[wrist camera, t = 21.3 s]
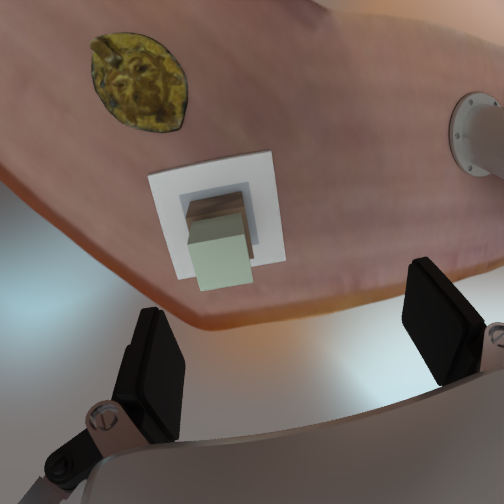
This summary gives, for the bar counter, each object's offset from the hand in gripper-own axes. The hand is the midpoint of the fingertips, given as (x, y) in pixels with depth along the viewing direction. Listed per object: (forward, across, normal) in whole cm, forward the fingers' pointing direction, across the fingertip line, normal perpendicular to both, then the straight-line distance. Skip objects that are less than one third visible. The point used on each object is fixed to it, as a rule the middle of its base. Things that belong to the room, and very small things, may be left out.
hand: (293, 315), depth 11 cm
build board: (+27, +5, +6) cm, 28 cm away
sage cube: (+21, +4, +7) cm, 22 cm away
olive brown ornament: (+27, +10, -11) cm, 31 cm away
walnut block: (+26, +4, +6) cm, 27 cm away
